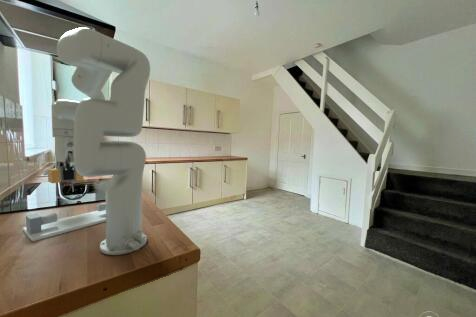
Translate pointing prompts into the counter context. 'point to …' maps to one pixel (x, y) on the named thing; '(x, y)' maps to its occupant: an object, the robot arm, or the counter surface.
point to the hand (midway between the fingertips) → (66, 178)
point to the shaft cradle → (61, 223)
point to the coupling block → (61, 175)
